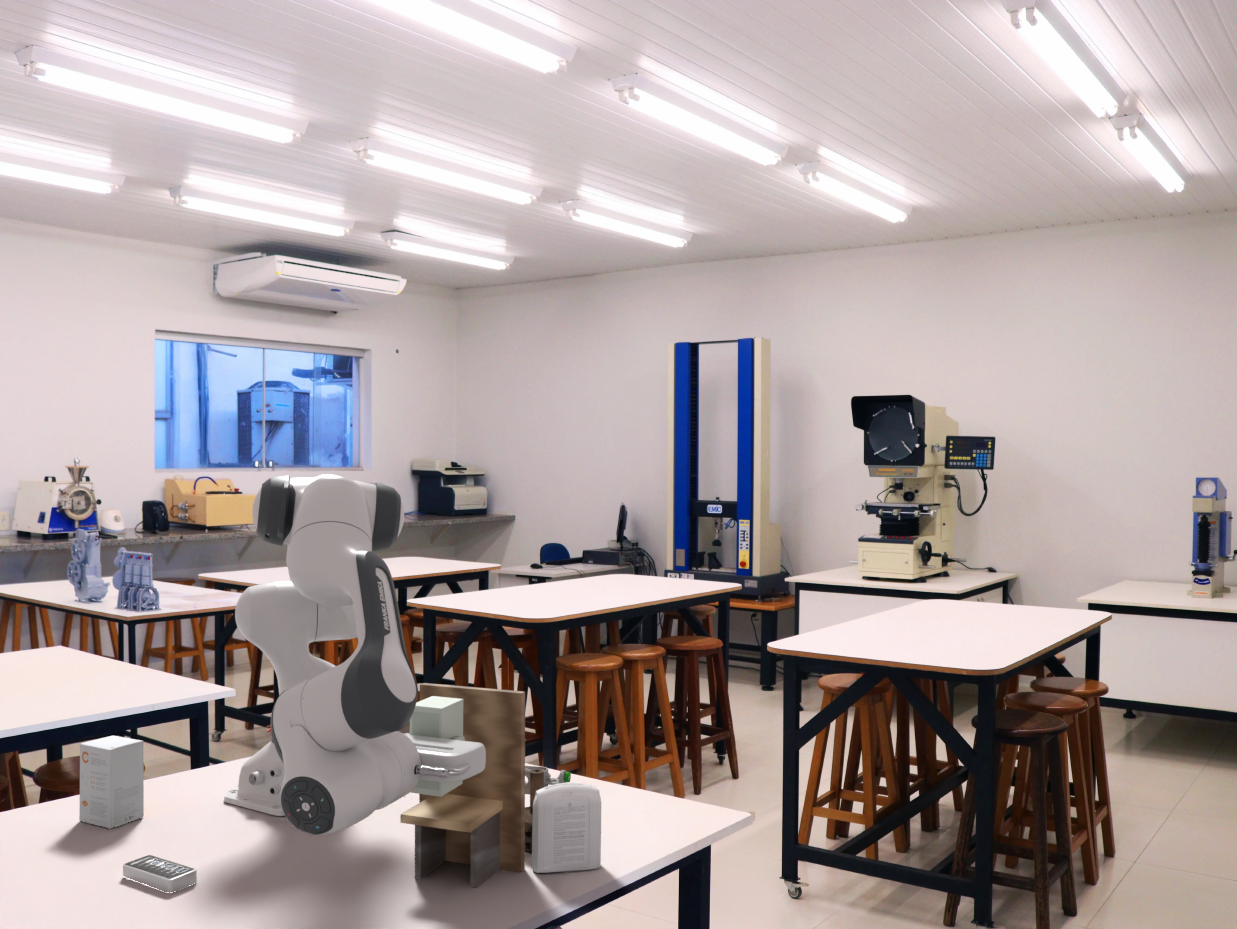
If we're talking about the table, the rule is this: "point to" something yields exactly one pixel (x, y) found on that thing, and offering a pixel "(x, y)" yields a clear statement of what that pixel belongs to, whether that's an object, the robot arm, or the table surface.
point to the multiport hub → (160, 873)
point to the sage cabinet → (437, 733)
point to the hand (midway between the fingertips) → (440, 739)
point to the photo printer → (566, 828)
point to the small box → (111, 781)
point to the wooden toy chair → (478, 791)
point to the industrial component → (535, 785)
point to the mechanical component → (546, 777)
